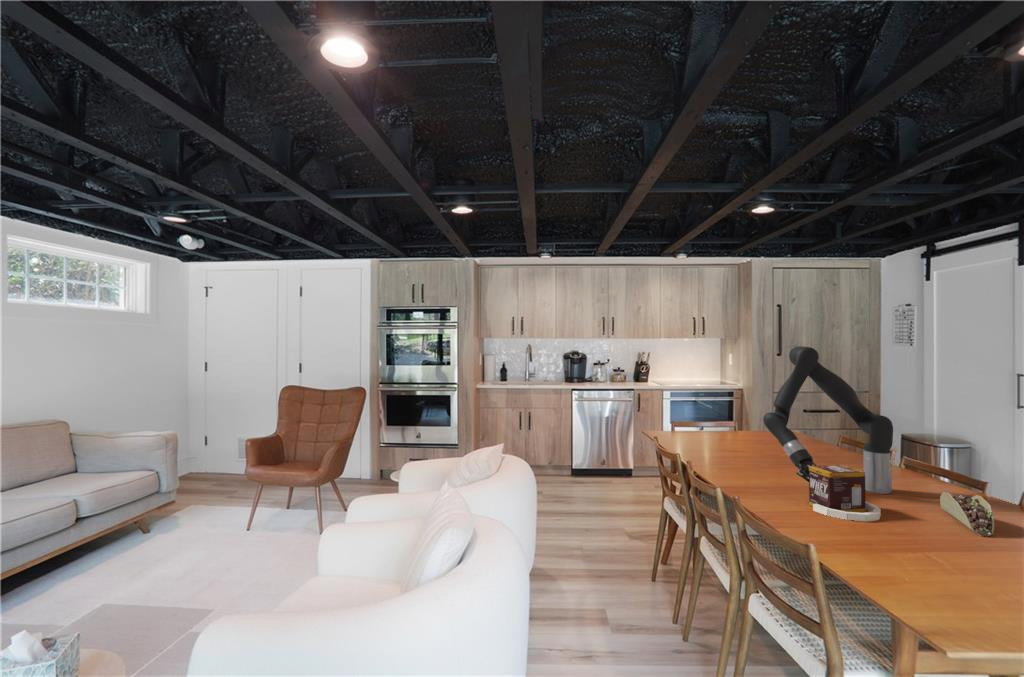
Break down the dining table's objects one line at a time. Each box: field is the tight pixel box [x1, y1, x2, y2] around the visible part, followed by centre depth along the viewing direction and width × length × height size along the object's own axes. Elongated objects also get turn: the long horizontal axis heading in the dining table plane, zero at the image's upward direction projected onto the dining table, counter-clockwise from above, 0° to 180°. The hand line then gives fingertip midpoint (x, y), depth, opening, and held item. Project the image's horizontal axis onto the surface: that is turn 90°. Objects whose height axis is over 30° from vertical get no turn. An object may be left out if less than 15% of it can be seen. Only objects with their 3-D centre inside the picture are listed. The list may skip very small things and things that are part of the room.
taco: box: [939, 492, 995, 537], centre depth 167 cm, size 10×27×10 cm, turn 156°
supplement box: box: [808, 464, 867, 513], centre depth 181 cm, size 10×15×16 cm
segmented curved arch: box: [812, 500, 882, 523], centre depth 175 cm, size 23×14×2 cm, turn 107°
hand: (824, 490), depth 186 cm, fingers closed
